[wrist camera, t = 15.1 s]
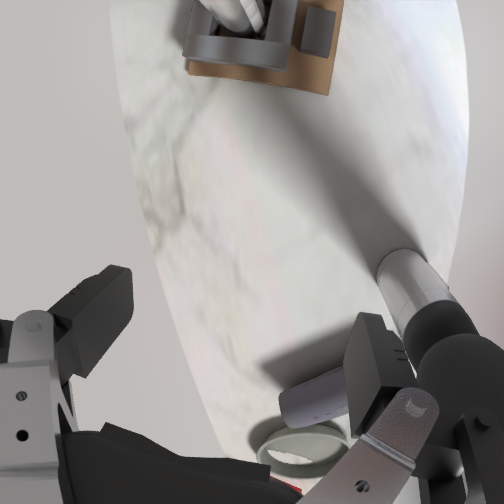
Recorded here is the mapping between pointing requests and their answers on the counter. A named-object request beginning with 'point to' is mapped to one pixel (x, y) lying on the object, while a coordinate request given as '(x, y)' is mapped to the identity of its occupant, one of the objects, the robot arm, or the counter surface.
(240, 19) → the paper towel roll
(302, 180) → the counter surface
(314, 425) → the cake pan
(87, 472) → the robot arm
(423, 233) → the counter surface
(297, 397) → the bluetooth speaker
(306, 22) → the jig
